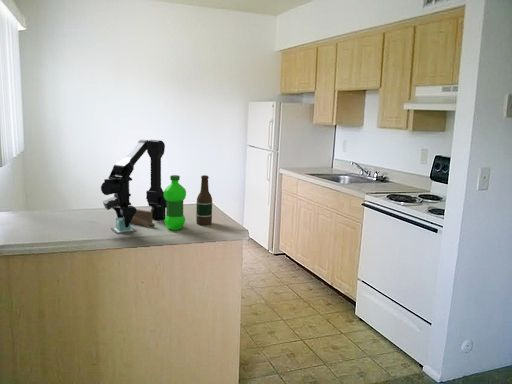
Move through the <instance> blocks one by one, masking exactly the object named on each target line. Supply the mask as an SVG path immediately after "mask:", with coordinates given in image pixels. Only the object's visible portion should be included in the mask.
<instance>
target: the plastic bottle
mask: <svg viewBox="0 0 512 384" xmlns="http://www.w3.org/2000/svg"><path fill="white" fill-rule="evenodd" d="M180 177H181V176H180V175H178V174H177V175H175V174H174V175H173V174H172V175H170V177H169V178H170V179H169V180H170V181H171V183H170V184H169V185H168V186H166V187H165V188H164V190H163V192H164V198H165V199H166V208H165V219H163V220H164V225H165V226H166V227H167V228H168V229H169V230H173V231H177V230H180V229H181V228H182V227H184V225H185V224H186V217H185V215H184V200H186V197H187V191H186V190H187V189H186V188H185V187H184V186H183V185H181V184H180V183H179V181H180Z"/></svg>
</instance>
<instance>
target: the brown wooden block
mask: <svg viewBox="0 0 512 384" xmlns="http://www.w3.org/2000/svg"><path fill="white" fill-rule="evenodd" d="M130 224H133V225H138V226H139V225H140V226H144V227H145V228H147V229H148V228H150V227H153V226H155V225H156V223H155V222H153V219H152V212H151V210H145V209H138V208H136V213H135V215H134V216H133V218H132V220H131V222H130Z"/></svg>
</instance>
